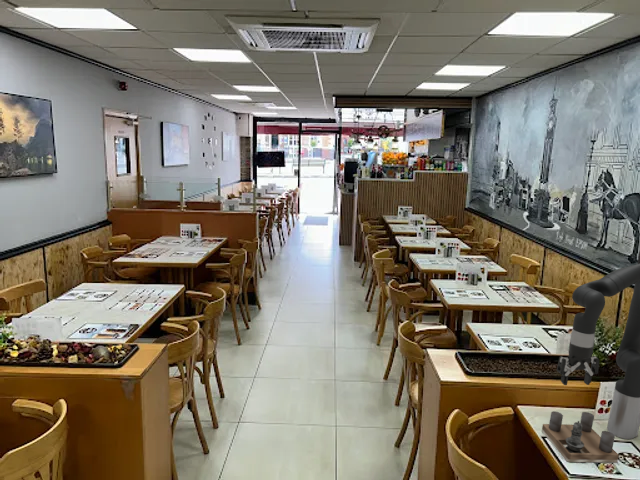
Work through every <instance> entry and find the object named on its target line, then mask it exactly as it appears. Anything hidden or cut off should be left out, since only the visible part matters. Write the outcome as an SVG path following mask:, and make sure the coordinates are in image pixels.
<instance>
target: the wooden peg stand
mask: <svg viewBox="0 0 640 480" xmlns="http://www.w3.org/2000/svg"><path fill="white" fill-rule="evenodd" d="M563 417H564V415H563V414H562V413H561V412H558V411H555V410H554V411H551V412H550V417H549V423H543V424H542V426H541V432H542V434H544V436H545V437H546V438H547V439H548V440H549V442H550V443H551V444H552V446H553V447H554V448H555V449H556V450H557V452H559V453H561V454H560V455H561V456H562V457H563V458H564V459H565V461H566V462H567V463H615V464H616V463H618V461H619V458H620V457H619V455H620V454H618V452H617V451H616V450H614V449H613V446H614V442H615V437H616V436H615V435H614V434H613V433H611V432H609V431H608V430H602V431H601V434H600V435H599V434H598V433H597V432H596V430H594V429H593V423H594V420H595V419H594V418H595V415H594V414H592V413H590V412H589V411H588V412H587V411H582V413H581V417H580V420H579V422H580V424H582V432H581V433H582V436H581V441H582V442H583V443H584V447H583V448H582V449H581V450H580V451H581V453H569V451H568V450H567V449H566V448H565V447H567V443H566V438H568V437H571V434H572V432H571V430H573V425H574V424H569V423H568V424H567V423H566V424H563Z"/></svg>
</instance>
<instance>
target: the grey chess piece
mask: <svg viewBox="0 0 640 480" xmlns="http://www.w3.org/2000/svg"><path fill="white" fill-rule="evenodd" d="M572 425H573V430H571V432H572V434H571V437H568V438H566V443H567V447H565V448H566V449H567V450H568V451H569V453H581V451H580V450H581V449H582V448H583V447H584V443H583V442H582V441H581V436H582V433H581V432H582V424H580V420H577V422H573V424H572Z"/></svg>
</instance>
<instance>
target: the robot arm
mask: <svg viewBox="0 0 640 480" xmlns="http://www.w3.org/2000/svg"><path fill="white" fill-rule="evenodd" d="M632 285H634V287H633V293H632V297H631V301H630V306H629V310H628V316H627V320H626V324H625V328H624V331H623V332H624V333H623V335H622V339H621V341H620V344H619V347H618V350H617V353H616V357H615V361H616V365H617V366H618V367H619V369H620V370H622V371H623V372H625V373H624V374H625V375H624V376H623V377H624V378H622V379H618V380H617V381H615V385H614V389H613V390H614V391H613V396H612V400H611V406H610V410H609V416H608V421H607V425H606V430H607V431H609V432H611V433H613V434H614V435H615V437H618V438H620V439H626V440H632V439H634V438H636V437H638V435H639V431H640V430H639V429H640V250H639V251H638V257H637V264H633V265H629V266H624V267H620V268H617V269H615V270H613V271H611V272H609V273H608V274H606V275H604V276H602V277H601V278H599V279H596V280H593V281H589V282H586V283H584V284H581V285H579V286H577V287H576V288H575V290H574V291H573V292H572V294H571V295H572V296H571V297H572V301H573V302H574V303H575V304H576V305H578V306H580V307H582V308H584V309H585V310H584V312H577V313H575V315H574V318H573V324H572V330H571V332H570V339H569V346H568V356H567V357H563V356H561V355H560V356H559V357H558V362H557V366H556V372H558V373H559V374H560V375H561V378H560V383H562V385H563V386H567V385H568V381H569V375H570V374H571V373H573V372H574V371H578V370H580V371H581V370H582V371H585V373H584V380H583V382H584V384H585V385H586V386H589V385H590V384H591V383H592V379H593V378H592V377H593V375H598V374H599V369H600V368H599V367H600V359H599V358H598V356H595V355H593V352H594V346H595V345H594V344H595V340H596V337H595V336H596V335H595V334H596V327H597V322H598V319H599V318H600V317H601V314H602V312H603V310H604V309H605V305H606V297H609V298H610V297H614V296H616V295H618V294H619V293H621V292H623V291H624V290H626V289H627V288H629V287H631V286H632ZM590 363H591V364H590Z"/></svg>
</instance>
